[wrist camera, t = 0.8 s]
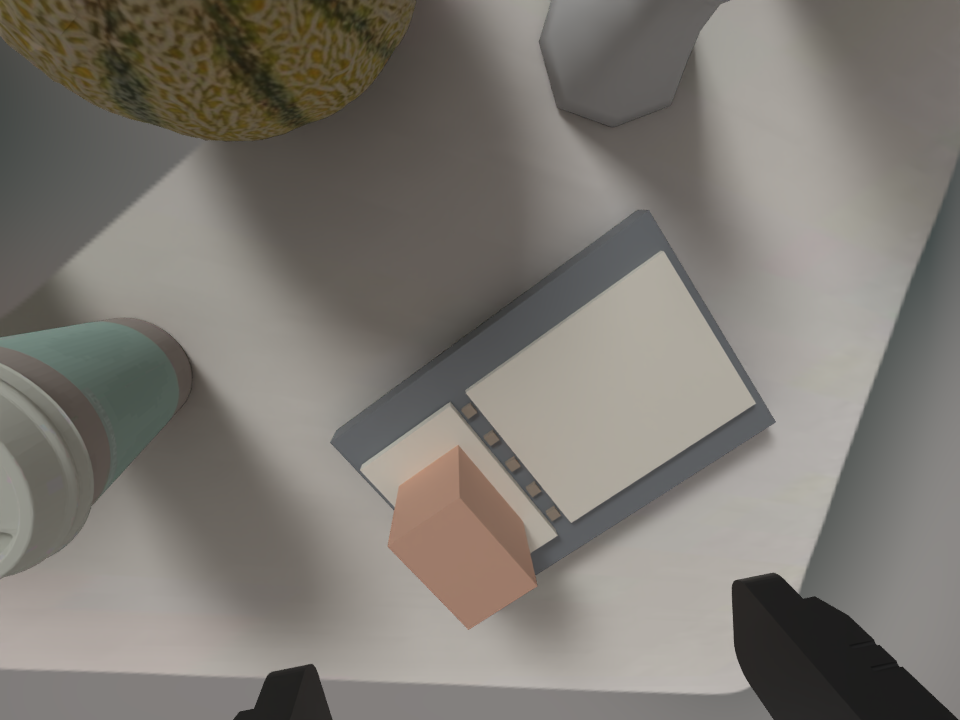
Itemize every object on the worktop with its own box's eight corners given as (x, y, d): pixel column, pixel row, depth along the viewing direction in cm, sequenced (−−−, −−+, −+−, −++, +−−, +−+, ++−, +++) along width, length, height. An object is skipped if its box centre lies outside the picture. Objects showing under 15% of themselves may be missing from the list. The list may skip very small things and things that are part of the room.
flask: (538, -51, 22) (604, -239, 13) (700, -51, 23) (881, -235, 13) (536, 129, 24) (591, 83, 15) (684, 126, 25) (830, 79, 15)
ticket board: (637, 209, 26) (652, 210, 24) (760, 411, 30) (780, 425, 28) (336, 430, 28) (328, 445, 27) (483, 589, 32) (485, 612, 30)
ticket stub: (450, 401, 27) (449, 451, 21) (555, 529, 29) (578, 602, 24) (361, 464, 27) (340, 528, 22) (472, 583, 30) (476, 665, 25)
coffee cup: (30, 403, 27) (-278, 550, 16) (77, 260, 25) (-238, 309, 14) (187, 468, 29) (13, 644, 17) (243, 338, 27) (87, 441, 15)
